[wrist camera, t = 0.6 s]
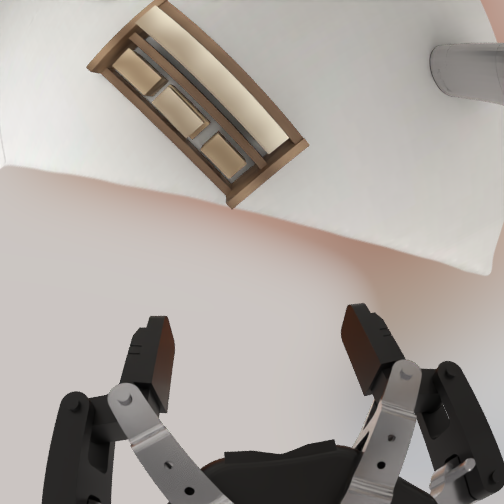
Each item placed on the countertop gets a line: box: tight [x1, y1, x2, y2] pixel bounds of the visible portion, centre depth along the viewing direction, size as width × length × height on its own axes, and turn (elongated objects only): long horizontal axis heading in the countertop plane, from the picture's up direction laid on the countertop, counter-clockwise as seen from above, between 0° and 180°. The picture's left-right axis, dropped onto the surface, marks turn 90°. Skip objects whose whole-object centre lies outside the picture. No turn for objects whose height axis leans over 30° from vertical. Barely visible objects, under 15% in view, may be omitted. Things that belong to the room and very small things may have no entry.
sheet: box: [135, 5, 289, 154], centre depth 25 cm, size 2×18×12 cm, turn 41°
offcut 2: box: [200, 131, 247, 179], centre depth 33 cm, size 3×5×4 cm, turn 41°
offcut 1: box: [112, 48, 168, 96], centre depth 27 cm, size 3×6×4 cm, turn 41°
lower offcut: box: [167, 84, 211, 140], centre depth 31 cm, size 3×7×3 cm, turn 41°
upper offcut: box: [152, 87, 205, 138], centre depth 29 cm, size 3×6×2 cm, turn 39°
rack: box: [86, 0, 309, 209], centre depth 29 cm, size 12×25×6 cm, turn 41°
